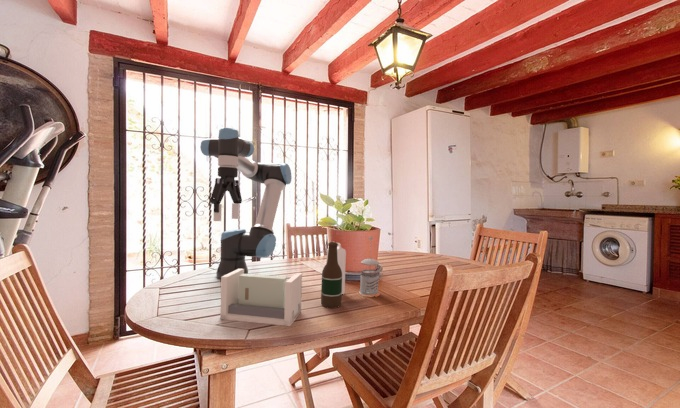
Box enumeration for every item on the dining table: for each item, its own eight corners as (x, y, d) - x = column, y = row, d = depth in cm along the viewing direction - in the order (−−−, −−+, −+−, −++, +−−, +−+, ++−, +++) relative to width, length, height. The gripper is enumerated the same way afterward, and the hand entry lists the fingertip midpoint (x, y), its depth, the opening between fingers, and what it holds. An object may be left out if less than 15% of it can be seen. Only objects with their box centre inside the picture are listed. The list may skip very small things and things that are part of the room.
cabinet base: (220, 318, 101) (221, 276, 100) (238, 306, 113) (239, 268, 112) (290, 326, 97) (291, 282, 97) (300, 312, 109) (302, 273, 108)
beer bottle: (345, 305, 117) (347, 243, 117) (330, 310, 112) (332, 244, 111) (331, 300, 123) (333, 240, 122) (316, 304, 117) (318, 242, 117)
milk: (333, 296, 127) (334, 244, 126) (325, 292, 132) (326, 241, 131) (344, 294, 131) (346, 242, 130) (336, 290, 136) (337, 240, 135)
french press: (353, 292, 133) (354, 235, 133) (373, 288, 140) (375, 234, 139) (367, 299, 125) (369, 238, 125) (388, 294, 132) (390, 236, 131)
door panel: (286, 311, 105) (287, 276, 105) (282, 314, 102) (283, 279, 102) (242, 307, 108) (243, 273, 107) (238, 310, 105) (239, 275, 104)
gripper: (234, 169, 136) (233, 217, 136) (200, 163, 111) (199, 221, 112) (250, 170, 135) (249, 218, 135) (219, 163, 110) (218, 222, 111)
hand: (226, 219), depth 124 cm, fingers open, 13 cm apart
